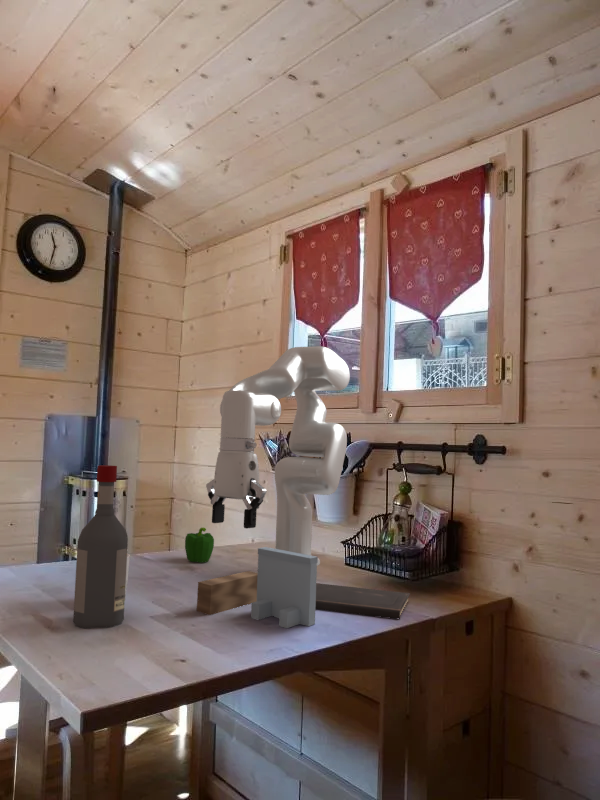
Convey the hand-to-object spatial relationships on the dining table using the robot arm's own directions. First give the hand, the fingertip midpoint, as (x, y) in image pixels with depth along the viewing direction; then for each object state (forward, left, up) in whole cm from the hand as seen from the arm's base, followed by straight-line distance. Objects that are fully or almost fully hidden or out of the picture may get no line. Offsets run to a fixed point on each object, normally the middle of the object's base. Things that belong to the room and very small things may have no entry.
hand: (233, 525), depth 133 cm
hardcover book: (-21, +18, -18) cm, 33 cm away
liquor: (+26, -10, -18) cm, 33 cm away
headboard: (0, +14, -17) cm, 22 cm away
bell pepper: (-26, -39, -18) cm, 50 cm away
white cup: (+17, -20, -18) cm, 31 cm away
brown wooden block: (0, 0, -17) cm, 17 cm away
